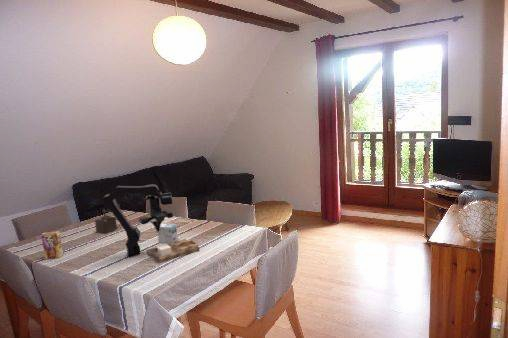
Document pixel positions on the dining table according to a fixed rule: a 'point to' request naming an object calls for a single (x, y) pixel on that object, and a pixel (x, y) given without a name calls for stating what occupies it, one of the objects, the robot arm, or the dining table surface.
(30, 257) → the dining table surface
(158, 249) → the cream block
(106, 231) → the brown box
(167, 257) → the deck
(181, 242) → the cubby
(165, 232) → the light bulb box
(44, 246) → the candy box
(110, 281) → the dining table surface
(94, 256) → the dining table surface
